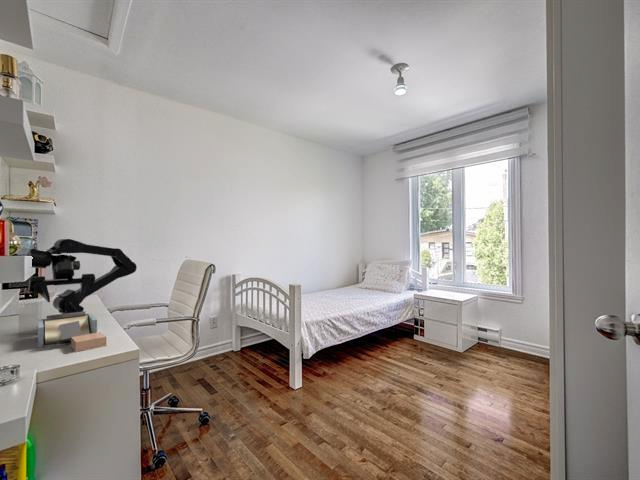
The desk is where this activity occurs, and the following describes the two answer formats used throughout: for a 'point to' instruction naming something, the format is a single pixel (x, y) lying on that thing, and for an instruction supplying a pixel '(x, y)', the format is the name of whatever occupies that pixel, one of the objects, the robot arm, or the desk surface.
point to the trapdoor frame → (41, 326)
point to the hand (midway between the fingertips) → (66, 299)
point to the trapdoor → (59, 319)
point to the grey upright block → (69, 330)
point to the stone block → (88, 341)
